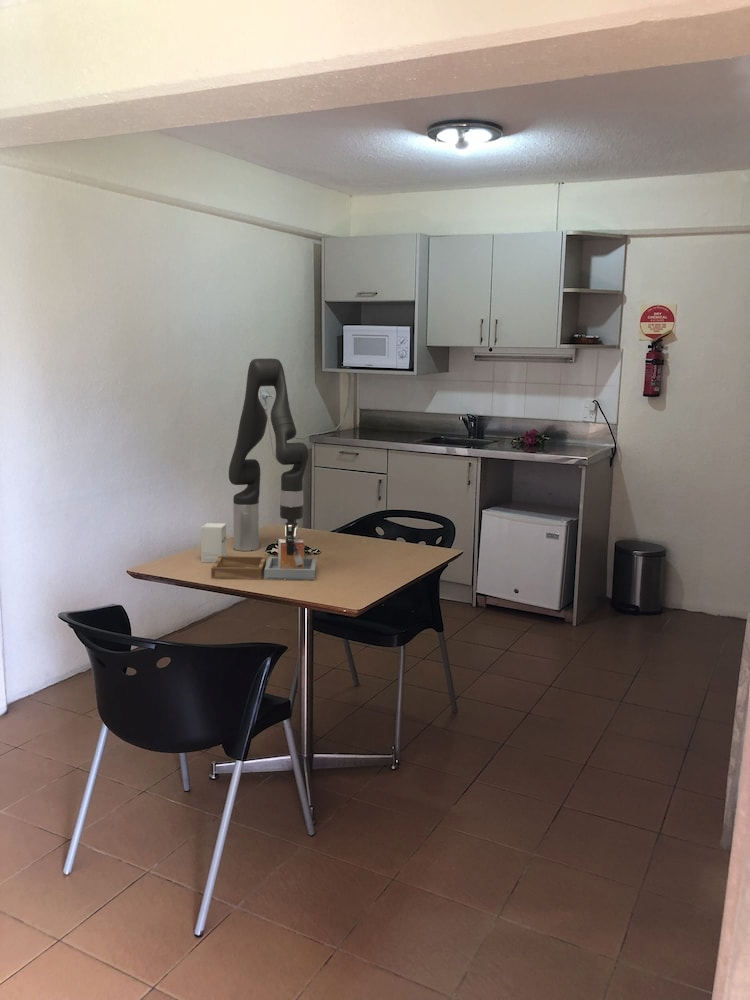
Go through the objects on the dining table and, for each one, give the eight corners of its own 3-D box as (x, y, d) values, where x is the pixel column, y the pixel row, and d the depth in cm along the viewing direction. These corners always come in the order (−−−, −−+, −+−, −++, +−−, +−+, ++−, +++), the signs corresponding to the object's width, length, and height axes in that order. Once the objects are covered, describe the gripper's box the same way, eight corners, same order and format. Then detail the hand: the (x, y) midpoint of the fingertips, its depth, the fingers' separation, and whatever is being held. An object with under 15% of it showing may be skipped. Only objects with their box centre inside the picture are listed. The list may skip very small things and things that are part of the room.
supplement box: (221, 563, 285) (221, 527, 283) (200, 562, 286) (200, 526, 284) (226, 558, 293) (226, 523, 290) (206, 557, 293) (205, 522, 291)
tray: (269, 567, 282) (269, 557, 281) (316, 567, 283) (316, 557, 282) (264, 579, 266) (264, 569, 266) (314, 580, 267) (314, 570, 266)
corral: (219, 566, 282) (218, 556, 281) (266, 566, 282) (266, 557, 281) (211, 578, 266) (211, 568, 265) (261, 579, 266) (261, 569, 266)
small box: (279, 573, 271) (279, 542, 269) (277, 569, 276) (277, 538, 274) (304, 573, 273) (304, 541, 271) (301, 568, 278) (301, 538, 276)
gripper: (281, 499, 277) (281, 546, 280) (278, 507, 263) (277, 556, 266) (304, 499, 277) (303, 546, 280) (301, 508, 263) (301, 557, 266)
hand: (291, 551), depth 273 cm, fingers open, 8 cm apart
